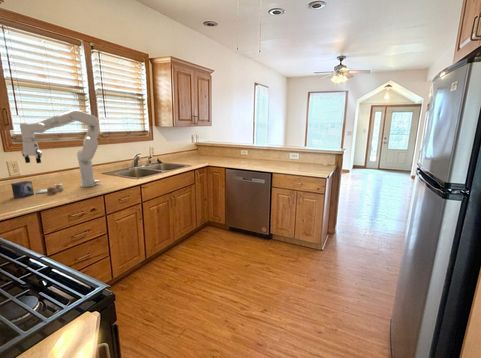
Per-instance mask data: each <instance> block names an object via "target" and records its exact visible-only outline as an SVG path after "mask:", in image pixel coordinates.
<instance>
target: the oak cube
mask: <svg viewBox="0 0 481 358" xmlns="http://www.w3.org/2000/svg"><path fill="white" fill-rule="evenodd" d="M53 187H56V189H57V192H63V190H64V184H63V183H55V184H54V185H53Z"/></svg>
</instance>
